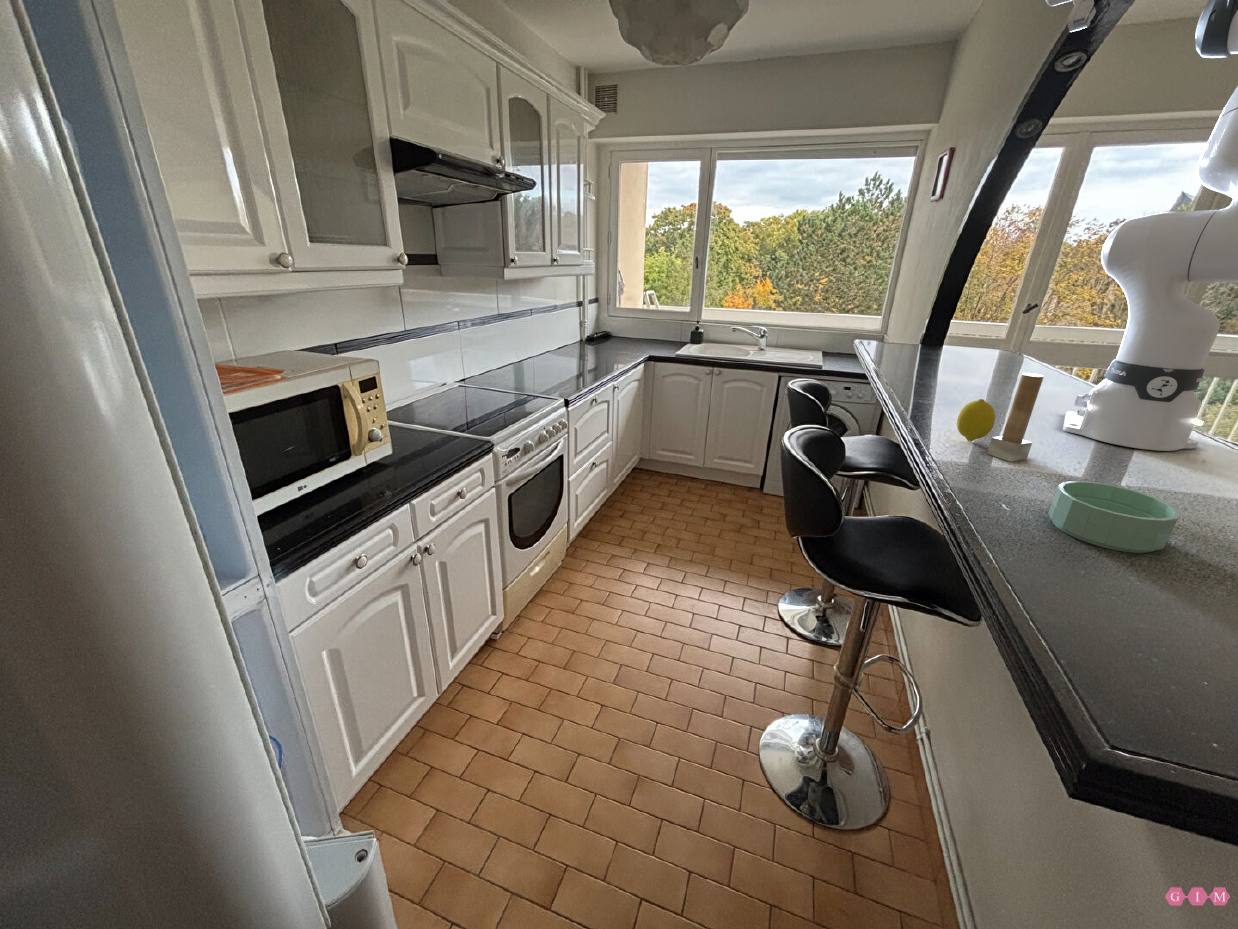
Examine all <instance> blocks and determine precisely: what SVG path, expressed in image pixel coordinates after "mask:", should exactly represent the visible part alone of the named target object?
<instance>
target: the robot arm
mask: <svg viewBox="0 0 1238 929" xmlns="http://www.w3.org/2000/svg"><path fill="white" fill-rule="evenodd" d="M1044 1H1045V3H1046V4H1047V5H1048V6H1049V7H1054V6H1058V5H1061V4H1064V3H1065V4H1066V3H1069V2H1073V8H1072V9H1071V11H1070V13H1069V15H1068V18H1067V28H1068V31H1069V32H1070V33H1072V32H1076V31H1080V30H1082V29H1085V28H1089V27H1090V25H1091V21H1092V20H1093V19H1094V17H1095V15H1096V13H1097V11H1096V7H1095V0H1044ZM1203 8H1204V9H1202V11H1201V14H1200V16H1199V18H1198V21H1197V24H1196V27H1195V49H1196V51H1197V53H1198V54H1199V55H1200V57H1201V58H1206V59H1217V58H1218V59H1222V58H1231V57H1232V56H1233V55H1237V54H1238V0H1208V1H1207V2H1206V5H1205V6H1204V7H1203ZM1230 95H1231V96H1230V97H1229V99H1228V101H1227V103H1226V104H1225V106H1224V107H1223V110H1222V112H1221V114H1220V115H1219V118H1218V120H1217V121H1216V124H1215V126H1214V128H1213V130H1212V132H1211V135H1210V136H1209V139H1208V140H1207V143H1206V145H1205V147H1204V149H1203V151H1202V154H1201V155H1200V157H1199V160H1198V162H1197V165H1196V168H1195V176H1196V178H1197V180H1198V182H1199V183H1200V184H1201V185H1203V186H1204V187H1206V188H1207V189H1209V190H1211V191H1214V192H1215V193H1216V192H1217V193H1219V194H1222V195H1225V196H1227V197H1230V198H1231V199H1232V201H1231V203H1230V204H1229V205H1228V206H1227V207H1225V208H1219V209H1206V210H1188V211H1187V210H1185V211H1184V210H1183V211H1165V212H1159V213H1154V214H1148V215H1143V216H1138V217H1133V218H1129V219H1127V220H1125V221H1124V222H1122V223H1121V224H1119V225H1118V226H1117V227H1116V228H1115V229H1114V230H1113V231H1111V233H1110V234H1109V235H1108V237H1107V238H1106V240H1105V242H1104V244H1103V245H1102V248H1101V249H1102V250H1101V254H1100V257H1101V258H1100V261H1101V265H1102V267H1103V269H1104V270H1105V272H1106V274H1108V276H1110V277H1111V278H1113V279H1114V280H1115V282H1117V283H1118V286H1120V288H1121V289H1122V291H1123V292H1124V295H1125V298H1126V301H1127V307H1128V316H1127V323H1126V327H1125V330H1124V335H1123V338H1122V340H1121V344H1120V346H1119V349H1118V353H1117V355H1116V358H1114V359H1113V360H1112V361H1111V363H1110V365H1109V366H1107V368H1106V372H1105V374H1104V376H1103V377H1104V379H1103V380H1102V381H1101V382H1099V383H1098V384H1097V385H1096V386H1094V388H1092V389H1091V390H1090V391H1089V392H1088V393H1084V394H1077V395H1076V397H1075V401H1074V405H1073V406H1074V407H1079V409H1078V410H1077V411H1067V412H1066V414H1065V415H1064V420H1063V425H1062V431H1064V432H1068V433H1072V434H1074V435H1075V434H1076V435H1080V436H1083V437H1087V438H1090V439H1093V440H1096V441H1100V442H1104V443H1106V444H1107V443H1108V444H1112V445H1117V446H1121V447H1127V448H1134V449H1140V450H1147V451H1148V450H1149V451H1163V452H1165V451H1166V452H1171V451H1173V452H1174V451H1179V450H1182V449H1197V446H1198V442H1197V441H1196V440H1193V439H1191V438H1190V437H1191V435H1192V433H1193V432H1192V431H1193V429H1194V427H1195V426H1198V427H1202V426H1203V424H1204V421H1203V420H1201V419H1198V415H1199V413H1200V410H1201V407H1202V401H1201V400H1200V399H1199V398H1198V397H1197V396H1196V395H1195V393H1194V392H1195V390H1197V389H1198V388H1199V386H1200V383H1201V382H1202V381H1203V378H1204V373H1205V369H1204V368H1203V367H1204V366H1205V363H1206V360H1207V359H1208V356H1209V354H1210V352H1211V349H1212V347H1213V345H1214V342H1215V340H1216V338H1217V336H1218V334H1219V332H1220V327H1221V325H1220V324H1221V323H1220V320H1219V318H1218V317H1217V315H1216V314H1214V313H1213V312H1212V311H1211V310H1209V309H1207V308H1206V307H1203V306H1202V305H1200V304H1198V303H1195V302H1193V301H1191V300H1189V298H1187V296H1186V294H1185V289H1186V288H1185V287H1186V284H1187V283H1217V284H1218V283H1222V284H1223V283H1224V284H1238V85H1237V86H1236V87H1235V89H1234V90H1233V92H1232V94H1230Z"/></svg>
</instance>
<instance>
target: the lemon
mask: <svg viewBox="0 0 1238 929" xmlns="http://www.w3.org/2000/svg"><path fill="white" fill-rule="evenodd" d="M995 422H996V412H995V409H994V407H993V406H992V405H991V404H990V403H989V402H987V401H986V400H985V399H983V398H979V399H977V400H972V401H970V402H968V403H967V404H965V405H964V406H963V407H962V408H961V410H960V412H959V413H958V415H957V419H956V428H957V431H958V432H959V434H960V435H961V436H962V437H964V438H965V439H966V441H968V442H973V441H975V440H979V439H981V438H985V437H986V436H988V435H989V434H990V432H991V431H992V429H993V428H994V425H995Z"/></svg>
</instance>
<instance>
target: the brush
mask: <svg viewBox="0 0 1238 929" xmlns="http://www.w3.org/2000/svg"><path fill="white" fill-rule="evenodd" d="M1044 378H1045V375H1043V374H1040V373H1032V372H1031V373H1030V372H1023V373H1021V376H1020V379H1019V381H1018V386H1017V388H1016V392H1015V395H1014V398H1013V402H1012V404H1011V408H1010V411H1009V413H1008V416H1007V420H1006V424H1005V426H1004V429H1003V433H1002V435H1000V436H993V437H991V439H990V443H989V446H988V449H987V452H986V455H988V456H989V455H990V456H992V457H996V458H998V459H1001V460H1004V461H1007V462H1010V463H1012V462H1017V461H1024V460H1027V459H1028V457H1029V455H1030V451H1031V449H1032V445H1033V442H1032V441H1029V440H1026V439H1024V438H1025V434H1026V432H1027V429H1028V425H1029V422H1030V420H1031V417H1032V414H1033V411H1034V408H1035V405H1036V401H1037V399H1038V396H1039V394H1040V389H1041V386H1042V383H1043V381H1044Z"/></svg>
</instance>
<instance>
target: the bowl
mask: <svg viewBox="0 0 1238 929" xmlns="http://www.w3.org/2000/svg"><path fill="white" fill-rule="evenodd" d="M1047 514H1048V516H1049V519H1050V521H1051V522H1052V524H1053V525H1054V526H1055V527H1056V528H1057V529H1059V530H1060V531H1061V532H1063V533H1065V534H1067V535H1069V536H1071V537H1073V538H1075V539H1077V540H1080V541H1083V542H1085V543H1088V544H1090V545H1094V546H1097V547H1101V548H1105V549H1108V550H1113V551H1119V552H1124V553H1132V554H1148V553H1152V552H1155V551H1158V550H1163V549H1165V547H1166V545H1167V543H1168V541H1169V539H1170V537H1171V535H1172V533H1173V530H1174V529H1175V526H1176V524H1177V523H1178V520H1179V518H1180V516H1181V512H1180V511H1179V510H1178V509H1177V508H1176V507H1175V506H1174V505H1172V504H1171V503H1168V502H1166V501H1165V500H1162V499H1160V498H1159V497H1155V496H1153V495H1150V494H1147V493H1144V492H1141V491H1138V490H1134V489H1131V488H1127V487H1122V486H1119V485H1116V484H1115V485H1114V484H1109V483H1102V482H1097V481H1086V480H1070V481H1063V482H1061V483H1060V484H1059V485H1057V489H1056V491H1055V494H1054V496H1053V498H1052V502H1051V504H1050V507H1049V510H1048V513H1047Z"/></svg>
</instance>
